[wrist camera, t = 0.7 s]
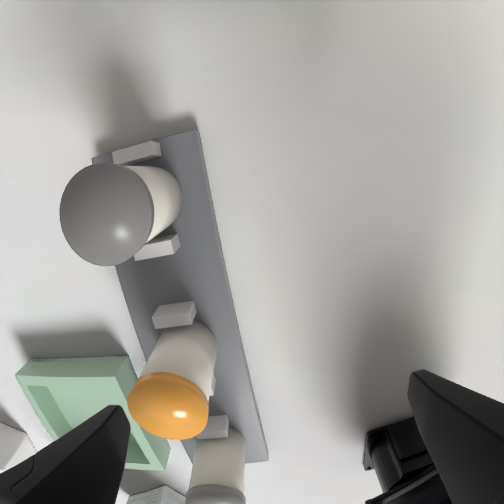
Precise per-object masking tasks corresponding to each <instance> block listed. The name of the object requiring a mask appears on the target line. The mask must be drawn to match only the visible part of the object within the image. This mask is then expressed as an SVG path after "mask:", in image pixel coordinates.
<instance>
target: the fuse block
mask: <svg viewBox="0 0 504 504" xmlns="http://www.w3.org/2000/svg"><path fill="white" fill-rule="evenodd" d="M92 164H93V165H90V166H88V167H85V168H84V169H82V170H80V171H79V172H78V173H77V174H75V175H74V177H73V178H72V179H71V180H70V181H69V183H68V184H67V186H66V188H65V190H64V192H63V195H62V199H61V204H60V222H61V227H62V231H63V234H64V236H65V238H66V240H67V242H68V244H69V245H70V247H71V248H72V249H73V250H74V251H75V253H76V254H78V255H79V256H80V257H81V258H83V259H84V260H86V261H88V262H90V263H92V264H95V265H100V266H113V265H115V267H116V270H117V274H118V277H119V281H120V284H121V288H122V291H123V294H124V297H125V301H126V304H127V307H128V310H129V313H130V316H131V319H132V322H133V325H134V328H135V331H136V334H137V337H138V339H139V342H140V345H141V348H142V350H143V353H144V356H145V359H146V361H148V359H149V357H150V355H151V353H152V351H153V349H154V347H155V345H156V343H157V341H158V339H159V337H160V335H161V333H162V331H163V330H164V328H168V327H176V326H183V325H191V324H192V323H193V321H197V322H199V323H201V324H203V325H204V326H206V327H207V328H208V329H209V330H210V331H211V332H212V333H213V335H214V336H215V338H216V341H217V354H216V360H215V366H214V372H213V378H212V384H211V390H210V396H209V402H208V403H209V413H208V420H207V424H206V426H205V428H204V430H203V431H202V432H201V433H199V434H198V435H196V436H194V437H192V438H189V439H183V440H181V442H182V444H183V446H184V448H185V450H186V452H187V454H188V456H189V458H190V460H191V462H192V464H193V467H192V473H191V479H190V485H189V490H188V491H187V494H186V500H185V504H246V499H245V496H244V476H245V463H253V462H262V461H269V459H268V449H267V445H266V441H265V437H264V433H263V429H262V425H261V421H260V417H259V413H258V409H257V405H256V401H255V396H254V392H253V388H252V384H251V380H250V375H249V371H248V367H247V362H246V358H245V354H244V349H243V345H242V341H241V336H240V332H239V327H238V323H237V318H236V314H235V309H234V305H233V300H232V295H231V291H230V286H229V281H228V277H227V272H226V267H225V262H224V258H223V253H222V248H221V243H220V238H219V233H218V228H217V223H216V218H215V213H214V208H213V203H212V198H211V193H210V187H209V182H208V177H207V172H206V166H205V161H204V156H203V150H202V145H201V139H200V134H199V131H197V130H192V131H187V132H183V133H179V134H175V135H171V136H167V137H163V138H159V139H155V140H151V141H147V142H144V143H140V144H137V145H133V146H130V147H126V148H123V149H119V150H116V151H113V152H110V153H106V154H103V155H100V156H97V157H94V158H92Z"/></svg>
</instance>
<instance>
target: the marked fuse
mask: <svg viewBox="0 0 504 504" xmlns="http://www.w3.org/2000/svg"><path fill="white" fill-rule="evenodd" d="M216 354H217V341H216V338H215V336H214V335H213V333H212V332H211V331H210V330H209V329H208V328H207V327H206V326H204V325H203V324H201V323H199V322H197V321H193V323H192V324H191V325H183V326H176V327H168V328H164V330H163V331H162V333H161V335H160V337H159V339H158V341H157V343H156V345H155V347H154V349H153V351H152V353H151V355H150V357H149V359H148V361H147V363H146V365H145V367H144V369H143V371H142V373H141V375H140V377H139V379H138V380H137V381H136V382H135V383H134V385H133V387H132V389H131V391H130V393H129V395H128V399H127V406H128V410H129V412H130V414H131V416H132V418H133V419H134V420H135V421H136V422H137V423H138V424H139V425H140V426H141V427H142V428H143V429H145V430H146V431H148V432H150V433H152V434H154V435H156V436H159V437H162V438H166V439H172V440H183V439H189V438H192V437H194V436H196V435H198V434H199V433H201V432H202V431H203V430H204V428H205V426H206V424H207V420H208V413H209V403H208V402H209V396H210V390H211V384H212V378H213V372H214V366H215V360H216Z"/></svg>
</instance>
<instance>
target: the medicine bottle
mask: <svg viewBox="0 0 504 504" xmlns="http://www.w3.org/2000/svg"><path fill="white" fill-rule="evenodd" d="M35 453H37V451H36V449H35V447H34V446H33V444H32V442H31V440H30V438H29V436H28V435H27V433H24V432H22V431H19V430H17V429H14V428H12V427H10V426H7V425H5V424H3V423H0V473H2V472H4V471H6V470H8V469H10V468H12V467H14V466H16V465H17V464H19V463H21V462H22V461H24V460H26V459H27V458H29V457H30V456H32V455H35Z"/></svg>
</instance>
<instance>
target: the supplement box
mask: <svg viewBox="0 0 504 504" xmlns="http://www.w3.org/2000/svg"><path fill="white" fill-rule="evenodd" d="M185 500H186V497H185V496H183V495H181V494H179V493H178V492H176V491H174V490H173V489H171V488H169V487H168V486H166V485H164V486H161V487H159V488H156V489H154V490H151V491H147V492H144V493H140V494H137V495H132V496H129V498H128V501H127V504H185Z"/></svg>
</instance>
